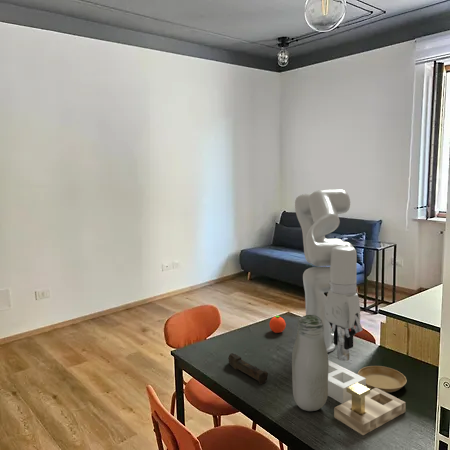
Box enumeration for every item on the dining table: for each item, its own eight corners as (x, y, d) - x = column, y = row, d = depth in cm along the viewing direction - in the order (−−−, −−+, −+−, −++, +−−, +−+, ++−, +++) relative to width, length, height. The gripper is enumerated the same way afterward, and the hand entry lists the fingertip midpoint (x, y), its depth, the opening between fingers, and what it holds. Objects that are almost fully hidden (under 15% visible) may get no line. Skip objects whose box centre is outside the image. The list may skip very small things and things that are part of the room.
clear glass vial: (342, 355, 133) (342, 321, 132) (351, 359, 130) (351, 324, 129) (335, 358, 131) (334, 323, 130) (343, 362, 129) (343, 327, 127)
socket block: (375, 396, 130) (375, 387, 129) (405, 412, 121) (405, 402, 121) (334, 417, 120) (334, 407, 120) (363, 435, 112) (363, 424, 111)
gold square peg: (357, 413, 121) (357, 382, 120) (369, 420, 117) (370, 389, 116) (346, 418, 119) (346, 387, 117) (359, 426, 115) (359, 394, 114)
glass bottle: (306, 421, 119) (305, 325, 115) (286, 403, 128) (285, 313, 124) (335, 412, 123) (335, 318, 119) (314, 395, 132) (313, 308, 128)
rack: (327, 373, 145) (327, 359, 144) (365, 393, 132) (365, 378, 131) (305, 382, 140) (305, 367, 139) (343, 404, 126) (343, 388, 126)
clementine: (269, 328, 186) (269, 312, 185) (285, 328, 186) (285, 312, 185) (269, 335, 178) (269, 319, 177) (286, 335, 178) (286, 319, 177)
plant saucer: (409, 379, 140) (409, 371, 139) (402, 401, 127) (402, 393, 127) (363, 369, 147) (363, 362, 147) (352, 389, 135) (352, 381, 134)
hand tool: (269, 381, 141) (268, 368, 141) (259, 385, 139) (259, 372, 138) (235, 361, 157) (234, 349, 156) (226, 365, 155) (225, 352, 154)
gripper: (314, 284, 133) (315, 340, 135) (357, 296, 119) (356, 358, 121) (331, 280, 137) (331, 334, 139) (374, 291, 123) (374, 352, 125)
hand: (343, 345), depth 130 cm, fingers closed on clear glass vial, 3 cm apart
